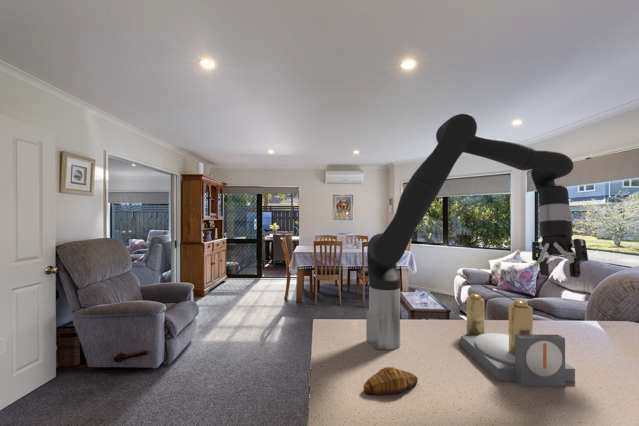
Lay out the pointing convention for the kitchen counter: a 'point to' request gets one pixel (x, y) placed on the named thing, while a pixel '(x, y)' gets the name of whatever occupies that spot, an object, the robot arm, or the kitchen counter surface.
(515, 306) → the weight
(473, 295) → the weight
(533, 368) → the scale
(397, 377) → the croissant
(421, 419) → the kitchen counter surface
